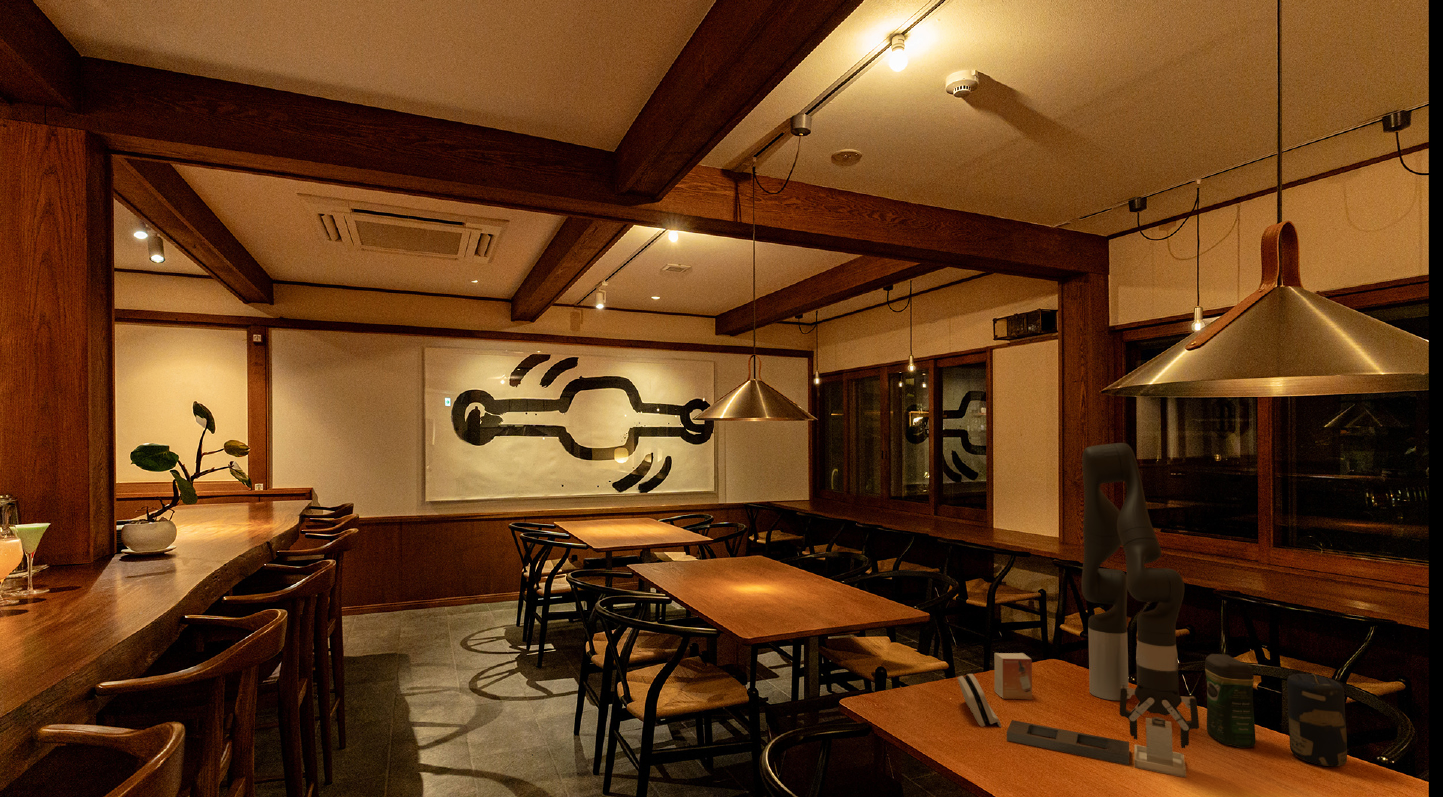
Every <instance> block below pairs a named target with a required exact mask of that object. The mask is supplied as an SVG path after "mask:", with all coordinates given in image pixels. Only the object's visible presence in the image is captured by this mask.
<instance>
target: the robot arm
mask: <svg viewBox="0 0 1443 797" xmlns="http://www.w3.org/2000/svg"><path fill="white" fill-rule="evenodd" d="M1081 457H1082V458H1081V464H1082V465H1081V467H1082V478H1083V480H1082V481H1083V491H1084V493H1083V494H1084V502H1083V503H1084V505H1083V506H1084V507H1083V508H1084V510H1083V522H1082V523H1083V529H1082V530H1083V562H1082V571H1081V572H1082V573H1081V593H1082V597H1083V598H1084V599H1085V601H1087V602H1090V603H1094V604H1104V605H1105V604H1106V605H1112V607H1111V608H1109V609H1108V610H1106V611H1104V612H1101V613H1096V614H1092V615H1090V616H1089V617H1088V621H1087V627H1088V629H1087V630H1088V634H1087V635H1088V665H1089V666H1088V667H1089V668H1088V669H1089V670H1088V672H1089V674H1088V675H1089V676H1088V677H1089V678H1088V680H1089V682H1088V683H1089V693H1090V694H1091V695H1092V696H1095V697H1097V698H1099V699H1103V700H1109V701H1110V700H1111V701H1119V715H1120V716H1121V717H1123V718H1126V719H1127V720H1128V722H1129V735H1130V736H1131V737H1133V740H1138V718H1139V717H1140V716H1142V715H1143V714H1144V713H1145V712H1146V711H1147V712H1148V713H1149V714H1159V715H1160V716H1161V715H1162V716H1166V717H1167V716H1169V715H1170V716H1171V717H1172V719H1174V720H1175V721H1176V722H1177V724H1178V725H1179V726H1180V728H1179V729H1180V748H1182V749H1186V747H1189V745H1190V733H1189V732H1190V730H1198V729H1199V728H1200V722H1199V712H1198V702H1197V697H1196V696H1195V695H1190V696H1181V695H1180V692H1179V691H1180V690H1179V661H1178V660H1179V659H1178V656H1179V655H1178V649H1177V638H1176V637H1177V634H1176V632H1177V631H1176V626H1177V621H1178V617H1179V614H1180V610H1181V607H1182V604H1183V600H1184V597H1185V596H1184V595H1185V592H1186V591H1185V582H1184V579H1183V577H1182V576H1181V575H1180V573H1179V572H1178V571H1177V570H1175V569H1172V568H1166V567H1164V568H1163V567H1162V568H1161V567H1160V568H1159V567H1157V568H1156V567H1146V566H1145V564H1150V563H1154V562H1155V561H1157V560H1159V559H1160V558H1161V556H1162V549H1161V546H1160V543H1159V540H1158V538H1157V534H1156V533H1155V530H1154V527H1153V525H1152V522H1151V519H1150V518H1151V517H1150V515H1149V511H1148V507H1147V502H1146V497H1145V492H1144V488H1143V483H1142V478H1141V475H1140V474H1141V473H1140V468H1139V465H1138V462H1137V457H1136V455H1135V453H1134V450H1133V449H1132V447H1131V446H1130V445H1129V444H1128V443H1126V442H1117V443H1106V444H1097V445H1092V446H1087V447H1086V448H1084V450H1083V453H1082V456H1081ZM1120 482H1121V483H1122V482H1124V483H1125V487H1126V493H1125V498H1124V502H1123V503H1122V506H1121V509H1119V508H1118V507H1117V506H1116V505H1115V504H1114V503H1113V502H1112V501H1111V500H1110V499H1109V498H1108V497H1107V496H1106V495H1105V493H1104V492H1103V490H1102V489H1101V485H1103V484H1109V483H1120ZM1121 546H1122V549H1123V552H1124V555H1125V556H1124V557H1125V565H1126V568H1125V569H1126V573H1125V572H1124V571H1123V570H1121V569H1115V568H1113V569H1112V568H1102V567H1101V565H1102V564H1103V563H1104V562H1106V561H1107V560H1108V559H1109V558H1110V557H1111V556H1113V555H1114V554H1115V553H1116V552H1117V551H1118V550H1119V549H1120V547H1121ZM1100 567H1101V568H1100ZM1128 592H1129V595H1130V596H1131V597H1132V598H1133V599H1135V600H1136V601H1137V602H1142V603H1143V602H1145V603H1157V605H1156V607H1155V608H1154V609H1151V610H1148V611H1143V612H1140V613H1139V614H1138V615H1137V618H1136V635H1137V638H1136V639H1137V640H1136V642H1137V644H1136V651H1135V653H1136V655H1135V656H1136V657H1135V660H1136V687H1135V688H1133V687H1129V653H1128V650H1129V649H1128V647H1129V646H1128V623H1127V622H1128V621H1127V618H1128V617H1127V614H1128V613H1127V611H1128V610H1127V607H1128V606H1127V605H1128V603H1127V602H1128ZM1133 695H1134V696H1135V697H1136V699H1137V700H1138V703H1137V704H1136V705H1135V707H1134V708H1133V709H1132V710H1128V709H1127V701H1128V699H1132V698H1131V697H1132V696H1133ZM1181 703H1184V704H1185V707H1186V708H1187V709H1189V711H1190V720H1186V718H1184V716H1183V715H1182V713H1181V712H1180V710H1179V709H1178V707H1179V706H1180V705H1181Z"/></svg>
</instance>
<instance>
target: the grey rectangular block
mask: <svg viewBox="0 0 1443 797" xmlns="http://www.w3.org/2000/svg"><path fill="white" fill-rule="evenodd" d="M1145 733H1146V735H1145V736H1146V741H1145V742H1146V746H1145V747H1147V762H1152V763H1157V764H1162V765H1167V766H1172V767H1173V752H1174V751H1173V728H1172V721H1168V720H1166V719H1164V718H1163V717H1159V716H1153V717H1145Z"/></svg>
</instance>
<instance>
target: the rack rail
mask: <svg viewBox="0 0 1443 797" xmlns="http://www.w3.org/2000/svg"><path fill="white" fill-rule="evenodd" d="M1044 736H1045V737H1044ZM1049 737H1050V738H1049ZM1006 742H1011V743H1017V744H1020V745H1021V744H1023V745H1026V746H1031V747H1036V748H1042V749H1046V750H1050V751H1051V750H1052V751H1056V752H1061V753H1065V754H1070V755H1071V754H1072V755H1077V756H1081V757H1085V758H1090V759H1095V760H1100V761H1105V762H1111V763H1116V764H1120V765H1125V766H1130V742H1129V741H1127V740H1121V739H1115V738H1111V737H1105V736H1100V735H1095V734H1094V735H1093V734H1089V733H1084V732H1080V731H1079V732H1078V731H1072V730H1067V729H1063V728H1057V727H1052V726H1048V725H1047V726H1046V725H1041V724H1037V723H1036V724H1034V723H1030V722H1025V721H1020V720H1015V719H1011V721H1010V723H1009V726H1008V728H1007V729H1006Z"/></svg>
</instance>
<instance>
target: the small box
mask: <svg viewBox="0 0 1443 797" xmlns="http://www.w3.org/2000/svg"><path fill="white" fill-rule="evenodd" d="M1032 664H1033V660H1032V658H1031V657H1029V656H1028V655H1026V654H1025V653H1024V652H1019V653H1017V652H1013V653H1011V652H1010V653H1009V652H1008V653H1007V652H1005V653H1003V652H1000V653H999V652H994V692H995V693H996V694H997V695H998V696H999V697H1000V698H1001V697H1002V698H1001V699H1002V700H1003V699H1005V700H1006V699H1008V700H1010V699H1011V700H1012V699H1013V700H1016V699H1017V700H1033V673H1032V672H1033V668H1032V667H1033V665H1032Z"/></svg>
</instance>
